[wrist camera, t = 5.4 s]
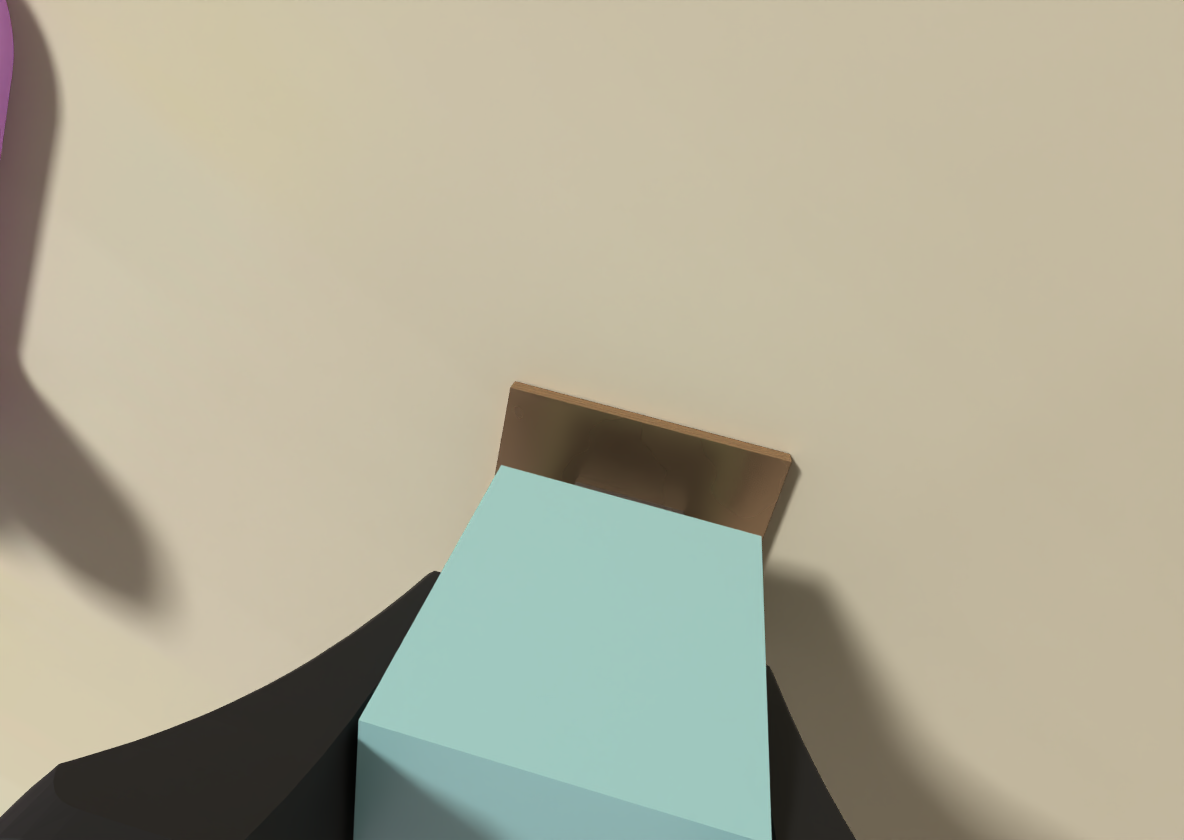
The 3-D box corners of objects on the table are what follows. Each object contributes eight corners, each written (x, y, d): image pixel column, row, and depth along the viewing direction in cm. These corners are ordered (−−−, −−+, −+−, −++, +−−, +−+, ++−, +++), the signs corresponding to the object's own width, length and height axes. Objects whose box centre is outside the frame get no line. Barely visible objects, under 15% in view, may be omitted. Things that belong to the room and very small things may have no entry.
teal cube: (690, 710, 16) (665, 1028, 11) (472, 647, 17) (349, 926, 11) (761, 536, 14) (771, 844, 8) (501, 464, 14) (358, 719, 9)
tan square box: (710, 666, 19) (706, 817, 15) (475, 599, 19) (411, 728, 15) (789, 454, 16) (812, 568, 12) (515, 381, 16) (448, 468, 12)
